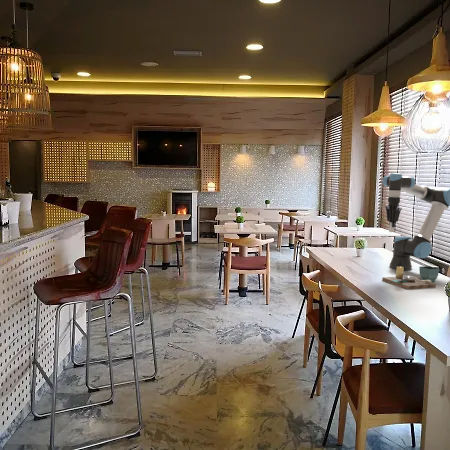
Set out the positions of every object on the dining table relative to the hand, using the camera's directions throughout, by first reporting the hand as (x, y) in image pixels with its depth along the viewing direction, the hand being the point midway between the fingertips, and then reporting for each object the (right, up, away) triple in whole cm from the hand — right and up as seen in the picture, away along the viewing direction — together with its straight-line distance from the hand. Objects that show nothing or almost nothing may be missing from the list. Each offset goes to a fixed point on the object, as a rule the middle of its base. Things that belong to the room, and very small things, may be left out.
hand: (391, 231), depth 317 cm
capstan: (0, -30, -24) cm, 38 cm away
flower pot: (+19, -32, -12) cm, 39 cm away
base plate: (+3, -32, -22) cm, 39 cm away
